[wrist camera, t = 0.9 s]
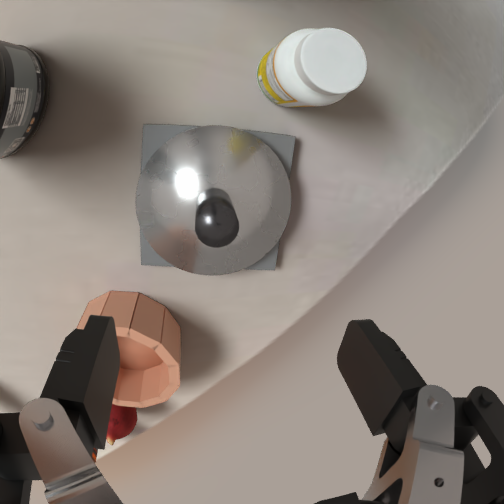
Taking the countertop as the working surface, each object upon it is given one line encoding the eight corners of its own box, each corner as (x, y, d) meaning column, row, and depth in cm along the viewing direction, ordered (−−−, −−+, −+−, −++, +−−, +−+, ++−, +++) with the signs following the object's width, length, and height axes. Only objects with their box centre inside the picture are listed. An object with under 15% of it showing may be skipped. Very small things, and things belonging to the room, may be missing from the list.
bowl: (74, 288, 27) (55, 320, 22) (180, 294, 29) (178, 330, 24) (92, 366, 31) (82, 400, 27) (181, 373, 34) (181, 409, 29)
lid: (141, 121, 21) (122, 124, 16) (298, 134, 24) (326, 141, 18) (139, 266, 26) (126, 305, 21) (276, 272, 29) (293, 309, 23)
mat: (145, 124, 22) (143, 124, 21) (292, 135, 25) (295, 136, 24) (143, 259, 27) (141, 265, 26) (272, 265, 29) (274, 270, 28)
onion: (88, 387, 33) (75, 436, 26) (113, 370, 32) (102, 424, 25) (121, 410, 35) (114, 458, 28) (148, 396, 35) (144, 447, 27)
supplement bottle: (247, 97, 23) (274, 86, 14) (265, 39, 21) (300, 2, 12) (309, 115, 24) (364, 119, 15) (325, 60, 22) (385, 40, 13)
